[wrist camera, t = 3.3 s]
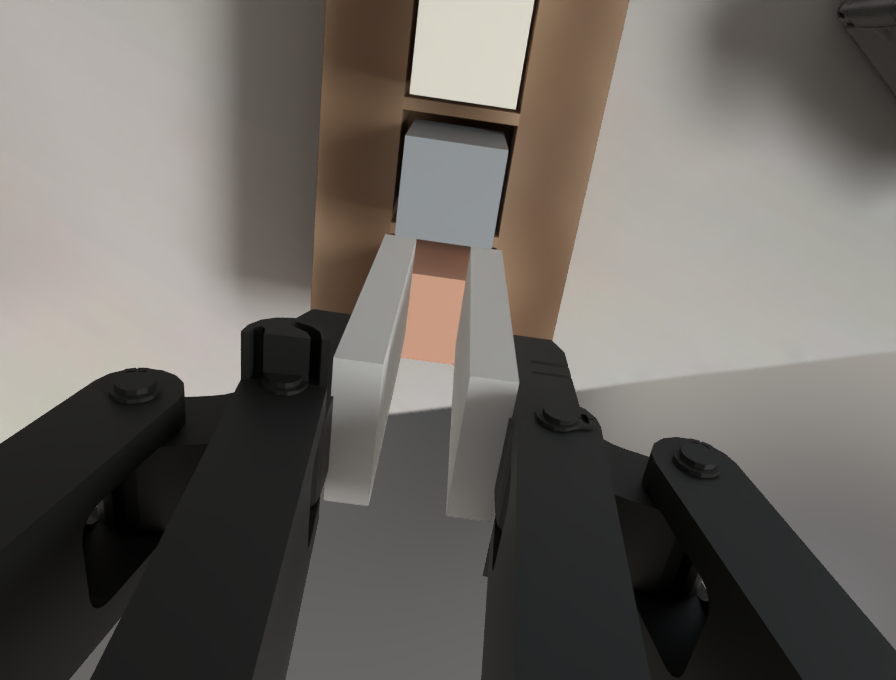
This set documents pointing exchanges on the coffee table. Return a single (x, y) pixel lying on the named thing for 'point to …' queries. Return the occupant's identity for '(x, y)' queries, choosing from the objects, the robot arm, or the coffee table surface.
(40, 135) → the coffee table surface
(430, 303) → the terracotta key
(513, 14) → the cream short block
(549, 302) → the wooden block tray
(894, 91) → the camera
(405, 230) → the slate key
